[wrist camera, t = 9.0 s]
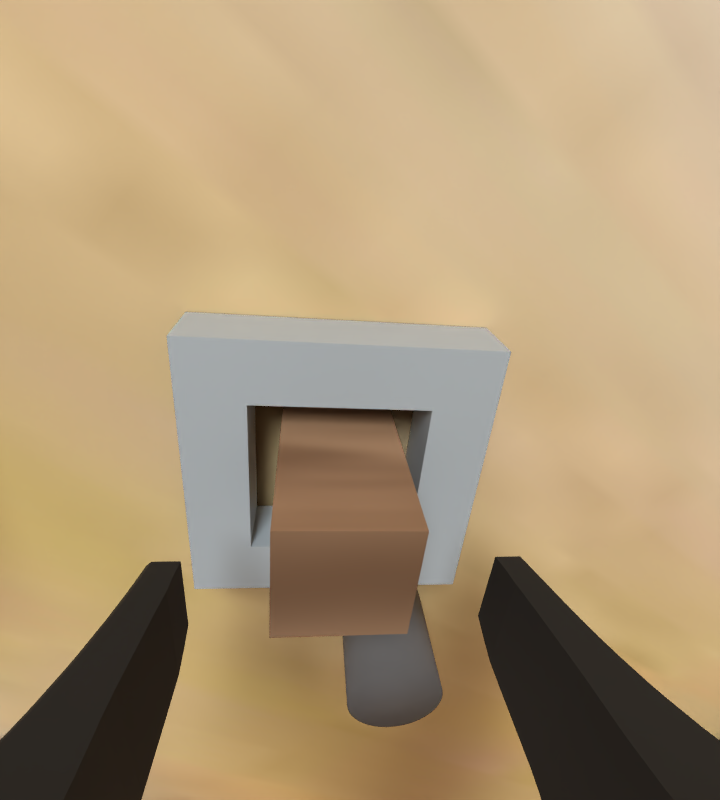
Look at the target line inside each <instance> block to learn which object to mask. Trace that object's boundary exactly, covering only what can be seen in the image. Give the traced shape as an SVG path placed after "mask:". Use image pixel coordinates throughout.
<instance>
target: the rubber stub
mask: <svg viewBox="0 0 720 800" xmlns="http://www.w3.org/2000/svg"><path fill="white" fill-rule="evenodd" d="M343 648H344V664H345V679H346V694H347V707H348V710H349V712H350V714H351V715H352V716H353V717H354V718H355V719H357V720H358V721H360V722H362V723H365V724H368V725H372V726H378V727H392V726H400V725H405V724H408V723H412V722H414V721H417V720H419V719H421V718H423V717H425V716H426V715H428V714H429V713H431V712H432V711H433V710H434V709H435V708H436V707H437V706H438V704H439V703H440V701H441V698H442V687H441V683H440V679H439V675H438V670H437V666H436V662H435V658H434V654H433V650H432V646H431V642H430V638H429V634H428V630H427V626H426V622H425V618H424V614H423V610H422V605H421V601H420V597H419V594H418V591H416V595H415V600H414V605H413V609H412V614H411V619H410V623H409V628H408V633H407V634H385V635H348V636H343Z"/></svg>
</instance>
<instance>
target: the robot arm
mask: <svg viewBox="0 0 720 800" xmlns="http://www.w3.org/2000/svg"><path fill="white" fill-rule="evenodd" d="M478 617H479V621H480V625H481V629H482V633H483V637H484V641H485V645H486V648H487V652H488V656H489V659H490V662H491V665H492V668H493V671H494V673H495V676H496V679H497V681H498V684H499V687H500V689H501V692H502V694H503V697H504V700H505V702H506V705H507V707H508V710H509V713H510V715H511V718H512V720H513V723H514V726H515V728H516V731H517V733H518V736H519V739H520V741H521V744H522V746H523V749H524V752H525V754H526V757H527V759H528V762H529V765H530V767H531V770H532V773H533V776H534V779H535V781H536V784H537V787H538V790H539V793H540V796H541V800H720V741H719V740H718V739H717V738H715V737H714V736H713V735H712V734H710V733H709V732H708V731H706V730H705V729H704V728H703V727H701V726H700V725H699V724H698V723H696V722H695V721H694V720H693V719H691V718H690V717H689V716H688V715H686V714H685V713H684V712H683V711H682V710H680V709H679V708H678V707H677V706H675V705H674V704H673V703H672V702H671V701H669V700H668V699H667V698H666V697H664V696H663V695H662V694H661V693H660V692H659V691H658V690H656V689H655V688H654V687H653V686H652V685H651V684H649V683H648V682H647V681H646V680H645V679H644V678H643V677H642V676H640V675H639V674H638V673H637V672H636V671H635V670H634V669H633V668H632V667H631V666H629V665H628V664H627V663H626V662H625V661H624V660H623V659H622V658H621V657H619V656H618V655H617V654H616V653H615V652H614V651H613V650H612V649H611V648H610V647H609V646H608V645H607V644H606V643H605V642H604V641H603V640H602V639H600V638H599V637H598V636H597V635H596V634H595V633H594V632H593V631H592V630H591V629H590V628H589V627H588V626H587V625H586V624H585V623H584V622H583V621H582V620H581V619H580V618H579V617H578V616H577V615H576V614H575V613H574V612H573V611H572V610H571V609H570V608H569V607H568V606H567V605H566V604H565V603H564V602H563V601H562V599H561V598H560V597H559V596H558V595H557V594H556V593H555V592H554V591H553V590H552V589H551V588H550V587H549V586H548V585H547V584H546V583H545V582H544V581H543V580H542V579H541V578H540V577H539V576H538V575H537V574H536V573H535V571H534V570H533V569H532V568H531V567H530V566H529V565H528V564H527V563H526V562H525V561H524V560H523V559H522V558H521V557H495V560H494V564H493V567H492V570H491V574H490V577H489V581H488V584H487V587H486V591H485V594H484V598H483V601H482V604H481V608H480V611H479V615H478ZM187 629H188V619H187V610H186V602H185V594H184V586H183V578H182V570H181V562H151V563H149V564H148V565H147V566H146V567H145V569H144V570H143V571H142V573H141V574H140V576H139V577H138V578H137V580H136V581H135V583H134V584H133V585H132V587H131V588H130V589H129V591H128V592H127V593H126V595H125V596H124V597H123V599H122V600H121V601H120V603H119V604H118V605H117V607H116V608H115V609H114V610H113V612H112V613H111V614H110V616H109V617H108V618H107V619H106V621H105V622H104V623H103V624H102V626H101V627H100V628H99V629H98V631H97V632H96V633H95V634H94V635H93V637H92V638H91V639H90V640H89V642H88V643H87V644H86V645H85V646H84V648H83V649H82V650H81V651H80V653H79V654H78V655H77V656H76V657H75V659H74V660H73V661H72V662H71V663H70V664H69V666H68V667H67V668H66V669H65V670H64V671H63V672H62V674H61V675H60V676H59V677H58V678H57V679H56V680H55V681H54V683H53V684H52V685H51V686H50V687H49V688H48V689H47V690H46V692H45V693H44V694H43V695H42V696H41V697H40V698H39V699H38V701H37V702H36V703H35V704H34V705H33V706H32V707H31V708H30V709H29V710H28V712H27V713H26V714H25V715H24V716H23V717H22V718H21V719H20V720H19V721H18V722H17V723H16V724H15V725H14V726H13V727H12V728H11V730H10V731H9V732H8V733H7V734H6V735H5V736H4V737H3V738H2V739H1V740H0V800H141V799H142V796H143V792H144V789H145V786H146V782H147V779H148V776H149V772H150V769H151V766H152V762H153V759H154V756H155V752H156V749H157V746H158V743H159V739H160V736H161V733H162V729H163V726H164V723H165V719H166V716H167V713H168V709H169V706H170V702H171V699H172V696H173V692H174V689H175V686H176V682H177V679H178V675H179V671H180V666H181V661H182V656H183V650H184V645H185V640H186V634H187Z"/></svg>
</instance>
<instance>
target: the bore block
mask: <svg viewBox="0 0 720 800" xmlns="http://www.w3.org/2000/svg"><path fill="white" fill-rule="evenodd" d="M167 344H168V353H169V362H170V371H171V380H172V389H173V398H174V407H175V416H176V425H177V434H178V443H179V452H180V461H181V470H182V479H183V488H184V497H185V506H186V515H187V524H188V533H189V542H190V551H191V560H192V569H193V578H194V587H195V589H218V588H270V528H271V518H272V509H273V506H257V475H256V426H255V406H287V407H321V408H355V409H388V410H413V416H412V422H411V428H410V435H409V441H408V447H407V454H406V460H407V464H408V467H409V470H410V473H411V476H412V479H413V482H414V486H415V489H416V492H417V495H418V498H419V501H420V504H421V508H422V511H423V514H424V517H425V520H426V523H427V526H428V530H429V534H428V539H427V544H426V548H425V553H424V558H423V562H422V567H421V572H420V577H419V581H418V585H434V584H453V581H454V577H455V573H456V569H457V565H458V561H459V557H460V553H461V549H462V545H463V541H464V537H465V533H466V529H467V525H468V521H469V517H470V513H471V509H472V505H473V501H474V497H475V493H476V489H477V485H478V481H479V477H480V473H481V469H482V466H483V462H484V458H485V454H486V450H487V446H488V442H489V438H490V434H491V430H492V426H493V422H494V418H495V414H496V410H497V406H498V402H499V398H500V394H501V390H502V386H503V382H504V378H505V374H506V370H507V366H508V362H509V358H510V354H511V351H510V350H509V349H508V348H507V347H506V346H505V345H504V344H502V343H501V342H500V341H499V340H498V339H497V338H496V337H495V336H494V335H493V334H492V333H491V332H490V331H489V330H488V329H487V328H479V327H460V326H442V325H423V324H404V323H385V322H366V321H348V320H329V319H310V318H291V317H272V316H254V315H235V314H216V313H197V312H185V313H184V315H183V316H182V317H181V318H180V320H179V321H178V322H177V323H176V325H175V326H174V327H173V328H172V330H171V331H170V332H169V333H168V335H167Z"/></svg>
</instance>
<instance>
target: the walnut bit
mask: <svg viewBox="0 0 720 800" xmlns="http://www.w3.org/2000/svg"><path fill="white" fill-rule="evenodd" d="M428 534H429V530H428V526H427V523H426V520H425V517H424V514H423V511H422V508H421V504H420V501H419V498H418V495H417V492H416V489H415V486H414V482H413V479H412V476H411V473H410V470H409V467H408V464H407V460H406V457H405V454H404V451H403V448H402V445H401V442H400V438H399V435H398V432H397V429H396V426H395V423H394V420H393V416H392V413H391V410H388V409H355V408H321V407H287V406H283V413H282V422H281V432H280V441H279V451H278V461H277V470H276V480H275V489H274V499H273V509H272V518H271V528H270V634H269V638H275V637H311V636H348V635H385V634H407V633H408V628H409V623H410V619H411V614H412V609H413V605H414V600H415V595H416V591H417V586H418V581H419V577H420V572H421V567H422V562H423V558H424V553H425V548H426V544H427V539H428Z"/></svg>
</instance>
